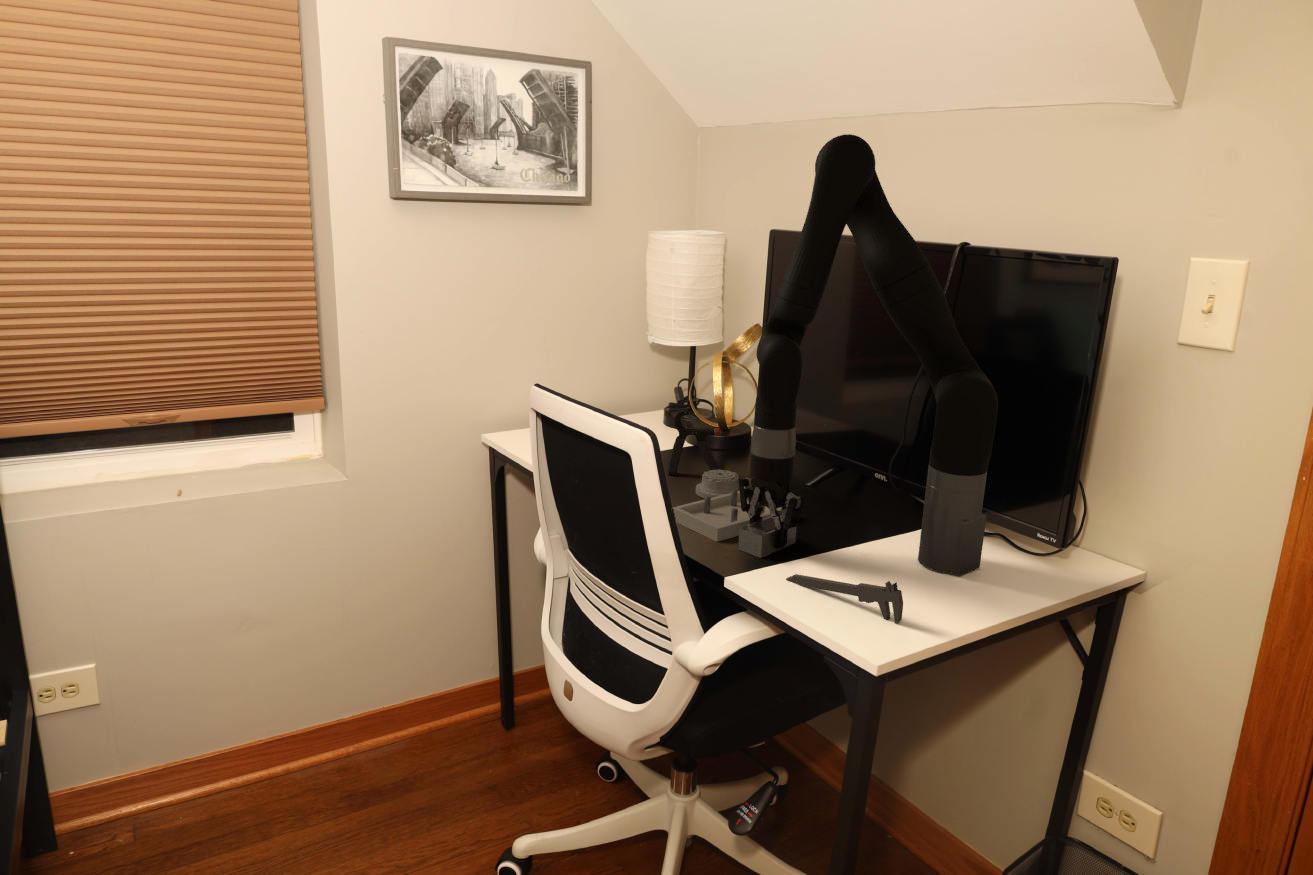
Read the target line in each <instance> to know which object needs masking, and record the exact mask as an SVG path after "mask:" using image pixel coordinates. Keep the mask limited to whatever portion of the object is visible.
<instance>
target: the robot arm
mask: <svg viewBox="0 0 1313 875" xmlns="http://www.w3.org/2000/svg"><path fill="white" fill-rule="evenodd" d="M814 173H815V175H814V180H813V186H812V193H811V197H810V203H809V206H808V210H807V213H806V217H805V221H804V223H803V226H802V229H801V232H800V235H799V237H798V240H797V242H796V245H795V247H794V249H793V253H792V254H791V257H790V259H789V262H788V264H787V268H786V270H785V273H784V276H783V278H782V281H781V284H780V287H779V290H778V293H777V296H776V298H775V303H774V307H773V309H772V312H771V313H770V316H769V318H768V320H767V322H766V324H765V326H764V328H763V331H762V333H761V336H760V338H759V341H758V345H757V347H756V361H757V363H758V364H759V379H758V380H759V382H758V394H757V395H756V398H755V405H754V416H753V417H754V418H753V419H754V421H753V429H752V434H751V442H750V444H751V445H750V447H751V448H750V459H749V460H750V463H749V475H750V476H746V477H743V478H739V479H738V484H739V490H740V501H741V510H742V511H743V512H745V511H746V512H747V513H748V516H749V517H750V523H749V524H751V523H754V522H756V521H759V520H762V517H761V516H760V515H762V513H763V510H764V508H765V507H768V508H769V509H770V514H771V516H772V517H773V518H774V522H775V527H776V528H775V536H774V548H776V549H780V548H782V549H784V548H783V547H785V545H786V544H787V534H788V529H790V528H793V527H796V526H797V527H798V525H799V522H800V518H801V514H802V509H803V507H804V502H805V497H804V496H803V495H798V496H797V495H796V494H794V493H793V492H792V487H791V481H792V480H793V478H794V472H795V458H796V447H797V446H796V442H797V437H796V435H797V434H796V424H797V422H796V420H797V409H798V408H797V406H798V405H797V403H798V402H797V401H798V400H797V399H798V393H799V390H800V389H799V388H800V385H801V384H800V383H801V380H802V371H803V354H802V350H801V348H800V347H801V344H802V341H803V339H804V336H805V333H806V331H807V328H808V326H809V325H811V324H812V323H813V322H814V319H815V318H816V316H817V313H818V310H819V307H820V306H821V302H822V300H823V297H824V293H825V291H826V288H827V285H828V282H829V278H830V277H831V276H830V275H831V272H832V268H833V266H834V262H835V258H836V255H837V251H838V248H839V244H840V242H841V239H842V235H843V234H844V230H845V228H846V226H847V228H848V229H849V231H850V234H851V235H852V237H853V241H854V242H855V245H856V247H857V250H858V254H859V256H860V260H861V261H862V264H863V268H865V272H866V273H867V275H868V278H869V280H870V282H871V285H872V287H873V288H874V291H875V293H876V295H877V297H878V298H879V300H880V302H881V304H882V306H883V308H884V310H885V311H886V313H887V315H888V316H889V318H890V319H891V321H892V322H893V324H894V326H895V327H896V329H897V330H898V331H899V333H901V335H902V337H903V338H904V339H905V341H906V342H907V343H908V344H909V345H910V347H911V348H912V349H913V351H914V352H915V354H916V356H917V357H918V359H919V361H920V364H922V368H924V371H925V372H924V373H926V376H927V378H928V381H929V384H930V386H931V389H932V392H933V394H934V398H935V402H936V407H935V417H934V425H933V426H934V427H933V435H932V444H931V447H930V452H929V460H928V467H927V468H928V469H927V475H926V476H927V477H926V483H925V484H926V485H925V494H924V495H925V496H924V503H923V512H922V513H923V514H922V520H921V527H920V528H921V529H920V537H919V546H918V554H917V561H918V562H919V564H921V566H923V567H925V568H927V569H929V570H931V571H935V572H938V573H943V574H950V575H951V574H952V575H955V576H957V577H960V576H964V575H966V574H968V573H970V572H973V571H975V570H978V569H980V567H981V559H982V554H983V546H984V539H985V531H986V524H987V515H986V514H983V505H984V504H983V503H984V500H985V499H984V497H985V489H986V482H987V477H988V476H987V475H988V468H989V463H990V459H991V456H992V453H993V452H992V451H993V446H994V439H995V434H996V427H997V420H998V414H999V413H998V412H999V397H998V394H997V392H996V390H995V388H994V386H993V383H992V382H991V380H990V379H989V377H988V376H987V375H986V374H985V372H983V369H981V367H980V365H979V364H978V363H977V361H976V359H975V358H974V357H973V354H971V352H970V350H969V349H968V347H967V346H966V344H965V343H964V341H963V339H962V338H961V335H960V333H959V330H958V329H957V326H956V323H955V319H954V317H953V316H954V315H953V313H952V311H951V308H950V305H949V303H948V300H947V297H946V296H945V293H944V291H943V288H942V286H941V284H940V281H939V280H938V278H937V276H936V274H935V272H934V269H933V267H932V265H931V264H930V263H929V261H928V259H927V257H926V255H925V253H924V252H923V250H922V249H921V247H920V246H919V244H918V242H917V241H916V240H915V239H914V237H913V236H912V234H911V233H910V232H909V231H908V229H907V228H906V227H905V225H904V224H903V223H902V221H901V220H900V219H899V217H898V216H897V215H896V213H895V212H894V210H893V208H892V207H891V204H890V202H889V201H888V198H887V196H886V193H885V191H884V189H883V186H882V185H881V182H880V178H879V177H878V174H877V171H876V157H875V154H874V151H873V149H872V147H871V146H870V144H869V143H868V142H867V141H866V140H865V139H863V138H862V137H860V136H859V135H855V134H847V133H846V134H842V135H841V134H840V135H837V136H834V137H833V138H831V139H829V140H828V141H827V142H826V143H825V144H824V145H823V146H822V147H821V148H820V150H819V152H818V154H817V156H816V158H815V164H814ZM747 498H748V500H749V504H747ZM780 507H782V508H781V510H779V511H777V509H776V508H780ZM780 515H781V516H782V520H783V521H782V522H781V518H780ZM797 527H796V528H797ZM785 548H786V547H785ZM780 550H781V549H780Z"/></svg>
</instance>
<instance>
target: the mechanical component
mask: <svg viewBox="0 0 1313 875" xmlns="http://www.w3.org/2000/svg"><path fill="white" fill-rule="evenodd" d="M732 490H737V491H740V490H739V474H738V473H736V472H734V471H729V470H724V469H723V470H711V469H709V470H708V471H704V472H703V474H702V475H701V482H700V483H698V484H696V486H695V494H696V495H697V496H698V497H701V498H702V499H704V497H710V498H713V497H717V496H721V495H725V494H729V493H731V491H732Z"/></svg>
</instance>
